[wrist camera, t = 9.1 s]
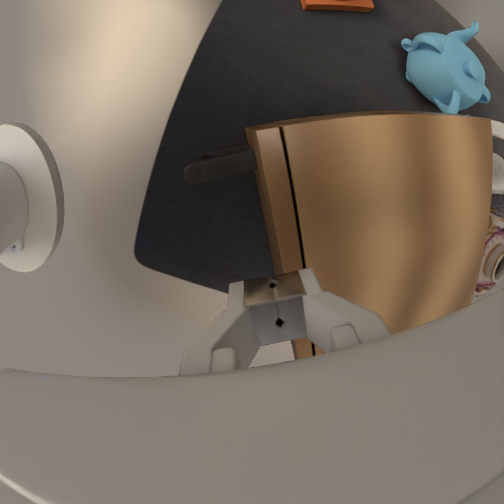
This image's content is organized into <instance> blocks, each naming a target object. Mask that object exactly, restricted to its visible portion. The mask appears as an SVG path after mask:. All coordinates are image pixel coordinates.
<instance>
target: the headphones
mask: <svg viewBox="0 0 504 504" xmlns="http://www.w3.org/2000/svg"><path fill="white" fill-rule="evenodd" d="M467 116H469V115H468V114H467ZM491 127H492V136H495V137H498V138H501V139H503V140H504V123H501V122H498V121H493V120H491ZM492 193H493V194H504V160H503V159H502V158H501V157H500V156H499V155H497V154H495V153H493V176H492Z"/></svg>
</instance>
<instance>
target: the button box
mask: <svg viewBox="0 0 504 504" xmlns="http://www.w3.org/2000/svg"><path fill="white" fill-rule="evenodd" d="M300 1H301V4H302V7H303V10H345V11H359V12H370V11H371V10H372V9H374V5H373V2H372V0H300Z"/></svg>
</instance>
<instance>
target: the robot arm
mask: <svg viewBox="0 0 504 504" xmlns="http://www.w3.org/2000/svg"><path fill="white" fill-rule="evenodd" d="M27 223H28V201H27V195H26V191H25V188H24V185H23V183H22V181H21V179H20V177H19V175H18V173H17V172H16V171H15V170H14V169H13V168H12V167H11V166H10V165H8V164H6V163H3V162H0V255H1V254H2V253H13V252H20V251H22V250H23V249H24V233H25V230H26V227H27ZM306 337H307V338H308V339H309V340H310V341H311V342H312V343H314V344H315V345H316V346H317V347H319V348H320V349H321V350H322V351H324V352H325V353H324V354H320V355H316V356H311V357H307V358H302V359H297V360H292V361H287V362H282V363H276V364H270V365H265V366H259V367H252V368H248V367H249V365H250V363H251V362H252V360H253V358H254V357H255V355H256V353H257V351H258V349H259V346H264V345H269V344H273V343H279V342H283V341H288V340H295V339H300V338H306ZM0 504H504V288H503V289H501V290H499V291H497V292H496V293H494V294H491V295H489V296H487V297H485V298H483V299H481V300H479V301H477V302H475V303H472V304H470V305H468V306H466V307H464V308H461V309H459V310H457V311H454V312H452V313H449V314H447V315H445V316H442V317H440V318H437V319H435V320H432V321H429V322H427V323H424V324H421V325H419V326H416V327H413V328H410V329H407V330H404V331H401V332H398V333H395V334H392V335H391V333H390V331H389V329H388V328H387V326H386V324H385V323H384V321H383V320H382V318H381V316H380V315H379V314H378V313H375V312H373V311H371V310H369V309H367V308H364V307H362V306H360V305H358V304H355V303H353V302H351V301H349V300H347V299H344V298H342V297H340V296H338V295H336V294H333V293H331V292H329V291H323V290H322V288H321V286H320V284H319V281H318V279H317V277H316V275H315V273H314V271H313V268H311V267H310V268H306V269H301V270H297V271H293V272H289V273H284V274H280V275H275V276H269V277H263V278H257V279H252V280H246V281H239V282H235V283H230V285H229V297H228V310H225V311H223V312H222V313H221V314H220V315H219V316H218V318H216V319H215V320H214V322H212V323H211V324H210V325H209V326H208V327H207V328H206V330H205V331H204V332H203V333H202V334H201V335H200V336H199V337H198V338H197V339H196V340H195V341H194V342H193V343H192V344H191V345H190V346H189V347H188V348H187V349H186V350H185V351H184V352H183V356H182V361H181V366H180V372H179V376H163V377H129V378H128V377H126V378H123V377H122V378H119V377H113V378H112V377H84V376H68V375H55V374H46V373H37V372H30V371H22V370H16V369H11V368H4V369H2V370H0Z"/></svg>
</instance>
